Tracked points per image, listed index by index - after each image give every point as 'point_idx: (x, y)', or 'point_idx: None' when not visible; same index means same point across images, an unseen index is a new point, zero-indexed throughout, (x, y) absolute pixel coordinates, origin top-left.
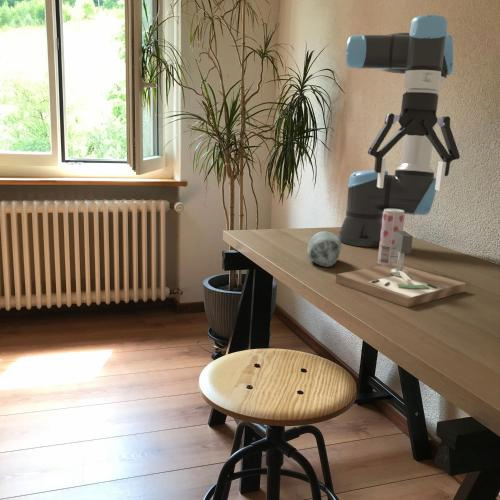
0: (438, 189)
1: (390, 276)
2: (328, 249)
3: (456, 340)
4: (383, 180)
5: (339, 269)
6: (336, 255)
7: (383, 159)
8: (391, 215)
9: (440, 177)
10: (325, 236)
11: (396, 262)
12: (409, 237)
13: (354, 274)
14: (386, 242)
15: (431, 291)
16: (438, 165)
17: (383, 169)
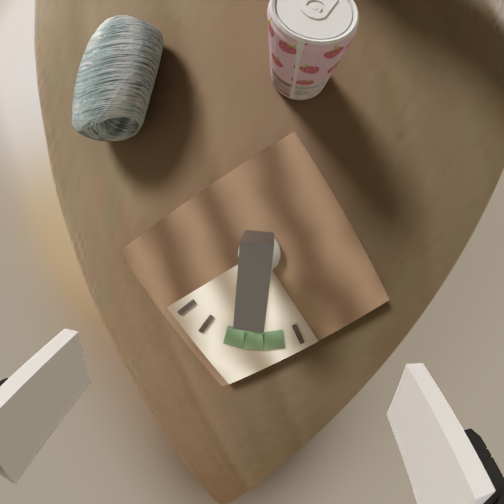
0: (391, 410)
1: (234, 261)
2: (104, 138)
3: (245, 455)
4: (70, 405)
5: (154, 139)
6: (132, 131)
7: (4, 475)
8: (290, 44)
9: (407, 463)
10: (87, 102)
11: (313, 95)
12: (254, 329)
13: (155, 250)
14: (281, 75)
15: (282, 359)
16: (457, 481)
17: (37, 441)
